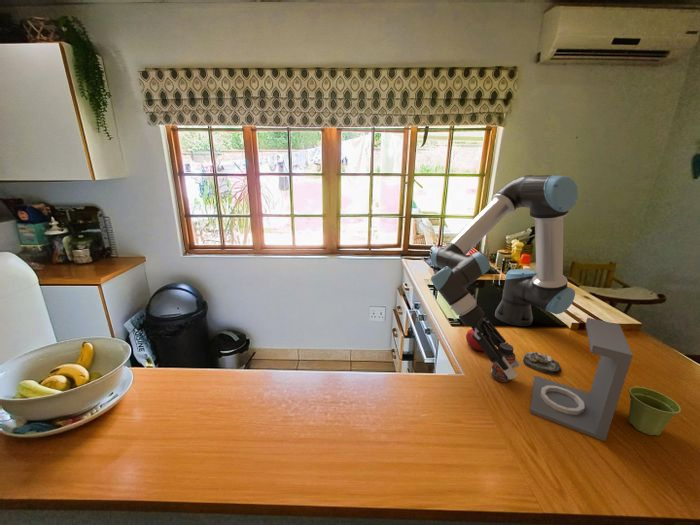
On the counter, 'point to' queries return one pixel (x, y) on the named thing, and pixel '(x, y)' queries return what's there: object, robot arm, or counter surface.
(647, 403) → the plant pot
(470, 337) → the pomegranate
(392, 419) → the counter surface
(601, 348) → the seat stand
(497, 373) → the supplement bottle
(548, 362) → the dark grey oval piece
